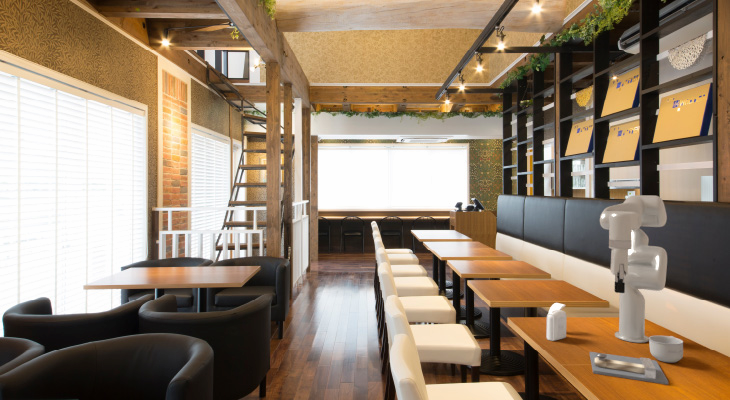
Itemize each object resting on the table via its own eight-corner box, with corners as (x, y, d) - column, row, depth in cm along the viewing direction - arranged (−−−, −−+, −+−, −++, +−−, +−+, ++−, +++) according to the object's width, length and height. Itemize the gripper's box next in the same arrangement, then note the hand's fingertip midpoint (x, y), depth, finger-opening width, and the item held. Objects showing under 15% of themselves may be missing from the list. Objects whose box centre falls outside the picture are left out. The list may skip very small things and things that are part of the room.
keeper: (639, 369, 156) (640, 356, 156) (649, 371, 155) (649, 358, 155) (644, 380, 147) (645, 367, 147) (655, 382, 146) (655, 368, 146)
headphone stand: (565, 330, 200) (565, 304, 200) (556, 332, 197) (557, 306, 197) (556, 328, 204) (556, 302, 204) (547, 330, 201) (548, 304, 201)
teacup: (672, 367, 159) (673, 345, 159) (642, 357, 168) (642, 336, 168) (693, 360, 165) (693, 339, 165) (663, 351, 175) (663, 331, 175)
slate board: (589, 354, 171) (589, 351, 171) (655, 363, 162) (655, 360, 162) (593, 373, 153) (593, 370, 153) (668, 384, 144) (668, 381, 144)
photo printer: (558, 335, 195) (559, 307, 194) (567, 337, 191) (568, 309, 191) (544, 339, 189) (545, 310, 189) (553, 342, 185) (554, 312, 185)
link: (594, 366, 156) (594, 355, 156) (594, 361, 160) (594, 351, 160) (655, 376, 148) (655, 365, 148) (653, 371, 152) (653, 360, 152)
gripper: (607, 242, 176) (606, 287, 176) (611, 246, 162) (610, 295, 163) (628, 243, 173) (627, 289, 173) (634, 247, 159) (633, 297, 159)
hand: (619, 292), depth 168 cm, fingers closed
